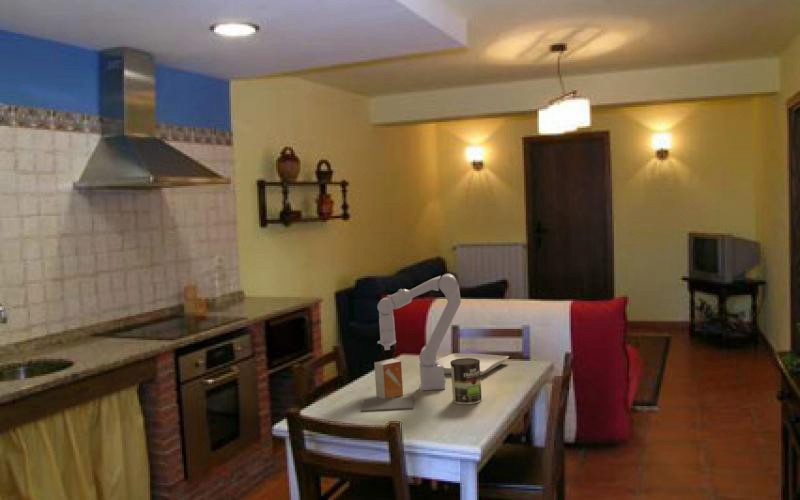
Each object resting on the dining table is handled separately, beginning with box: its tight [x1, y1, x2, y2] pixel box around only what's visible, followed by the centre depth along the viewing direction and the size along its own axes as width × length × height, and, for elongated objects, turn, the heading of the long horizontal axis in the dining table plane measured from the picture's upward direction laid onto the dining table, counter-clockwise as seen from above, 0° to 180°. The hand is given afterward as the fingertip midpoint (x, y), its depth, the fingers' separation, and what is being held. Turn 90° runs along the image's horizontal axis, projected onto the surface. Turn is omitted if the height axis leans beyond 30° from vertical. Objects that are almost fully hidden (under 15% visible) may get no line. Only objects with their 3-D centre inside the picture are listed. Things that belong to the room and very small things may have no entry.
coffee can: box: [450, 358, 483, 406], centre depth 254 cm, size 10×10×14 cm
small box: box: [373, 358, 404, 399], centre depth 267 cm, size 8×6×13 cm
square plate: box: [436, 353, 510, 376], centre depth 301 cm, size 27×27×4 cm
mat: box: [360, 396, 415, 413], centre depth 255 cm, size 18×13×1 cm
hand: (389, 364), depth 276 cm, fingers closed
